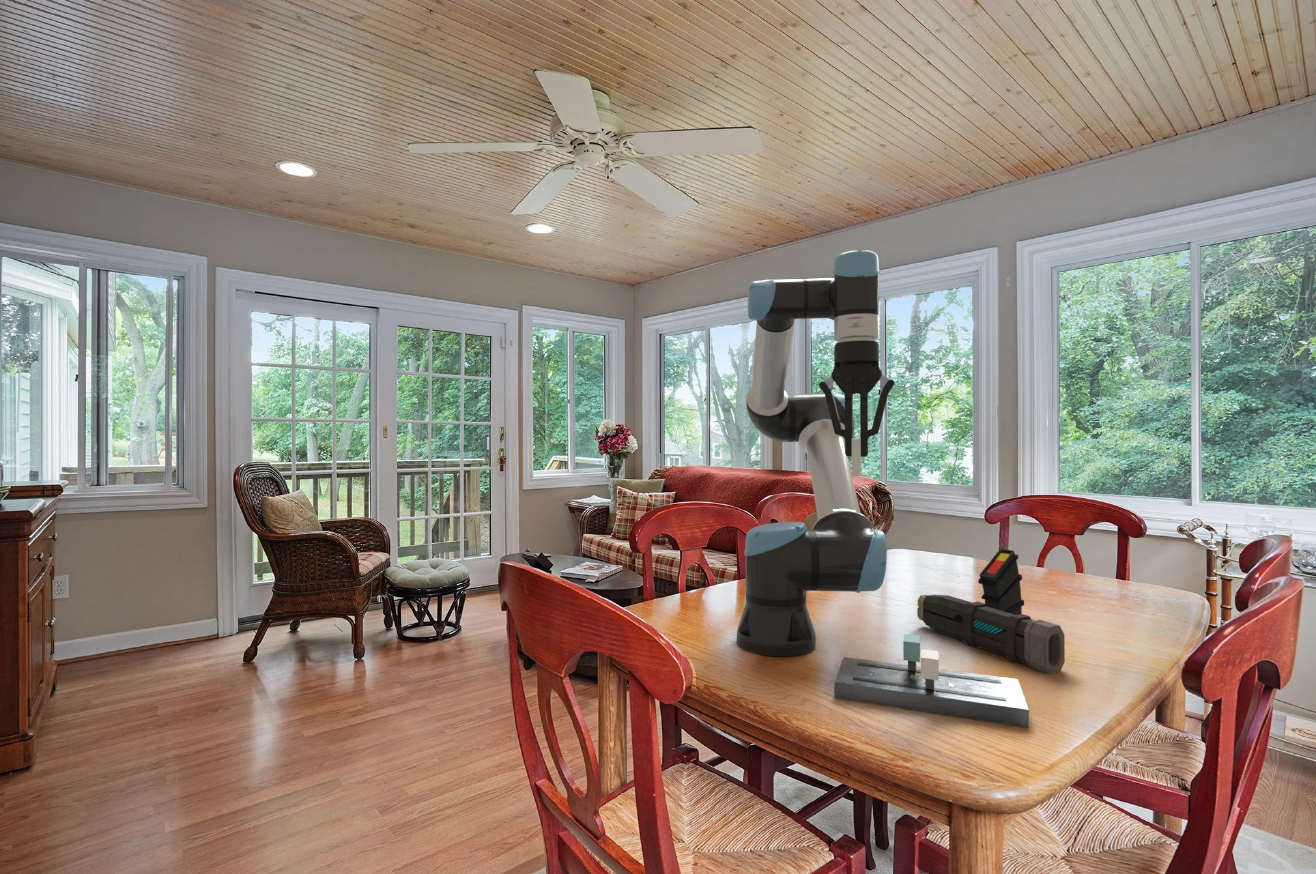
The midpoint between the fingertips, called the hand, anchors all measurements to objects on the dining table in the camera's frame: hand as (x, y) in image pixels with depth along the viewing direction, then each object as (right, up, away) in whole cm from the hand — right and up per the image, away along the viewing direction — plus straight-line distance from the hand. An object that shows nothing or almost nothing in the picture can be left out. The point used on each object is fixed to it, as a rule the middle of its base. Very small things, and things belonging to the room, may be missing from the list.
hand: (856, 475), depth 111 cm
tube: (+27, -34, +9) cm, 44 cm away
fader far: (+6, -31, -10) cm, 33 cm away
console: (+6, -33, -14) cm, 37 cm away
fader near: (+5, -31, -17) cm, 36 cm away
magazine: (+40, -34, +27) cm, 59 cm away
